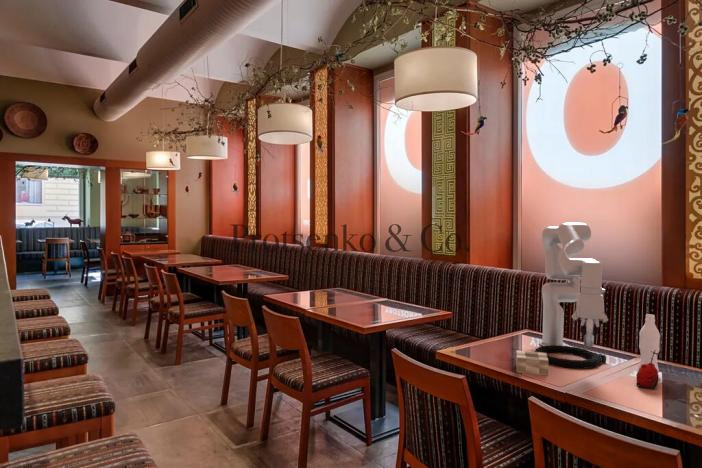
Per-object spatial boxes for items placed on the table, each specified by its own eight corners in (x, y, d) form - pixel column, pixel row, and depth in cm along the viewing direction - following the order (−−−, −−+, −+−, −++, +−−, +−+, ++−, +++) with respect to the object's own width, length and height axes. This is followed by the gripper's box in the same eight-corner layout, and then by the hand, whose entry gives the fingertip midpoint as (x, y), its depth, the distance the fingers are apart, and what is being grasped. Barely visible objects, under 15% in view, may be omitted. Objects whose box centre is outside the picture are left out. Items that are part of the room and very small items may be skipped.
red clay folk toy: (646, 382, 187) (647, 344, 186) (663, 389, 180) (664, 349, 180) (631, 384, 184) (633, 346, 184) (648, 391, 178) (649, 351, 177)
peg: (583, 343, 199) (584, 310, 198) (592, 344, 198) (594, 311, 197) (584, 345, 196) (585, 312, 195) (594, 346, 195) (595, 312, 194)
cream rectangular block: (516, 363, 209) (516, 350, 209) (545, 366, 205) (546, 352, 205) (516, 372, 198) (517, 357, 197) (548, 375, 194) (548, 360, 194)
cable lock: (529, 342, 233) (596, 346, 227) (529, 350, 233) (596, 354, 227) (540, 358, 205) (616, 363, 199) (539, 367, 206) (615, 372, 200)
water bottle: (635, 375, 196) (637, 314, 195) (641, 371, 200) (643, 312, 199) (655, 379, 190) (657, 317, 189) (661, 376, 195) (663, 315, 194)
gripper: (611, 290, 196) (609, 334, 198) (567, 288, 202) (565, 331, 203) (615, 294, 189) (613, 339, 190) (569, 291, 194) (568, 335, 196)
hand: (589, 334), depth 197 cm, fingers closed on peg, 3 cm apart
